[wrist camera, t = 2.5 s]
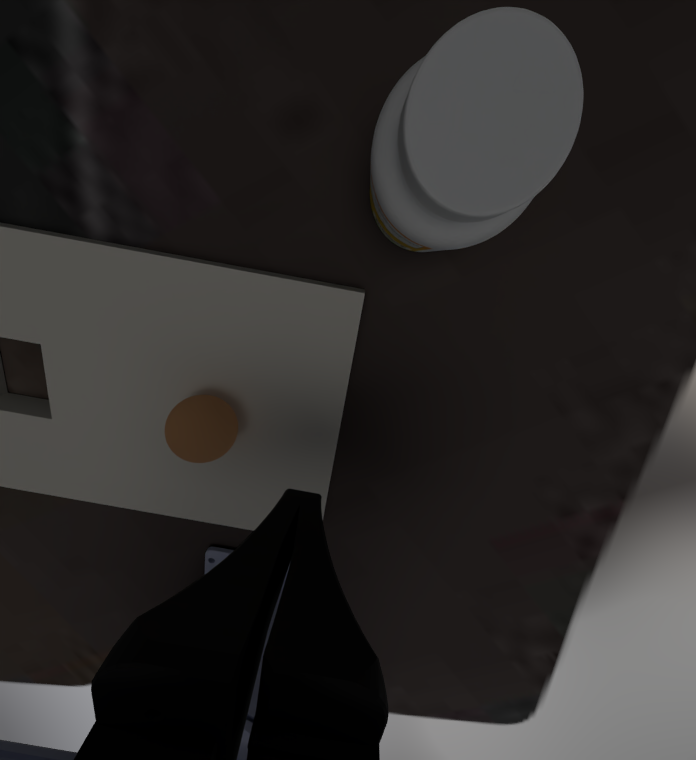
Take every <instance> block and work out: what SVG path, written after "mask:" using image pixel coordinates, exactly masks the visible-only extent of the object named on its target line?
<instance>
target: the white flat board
mask: <svg viewBox="0 0 696 760" xmlns="http://www.w3.org/2000/svg"><path fill="white" fill-rule="evenodd" d="M364 295H365V289H360V288H354V287H349V286H343V285H338V284H332V283H327V282H321V281H316V280H311V279H305V278H300V277H294V276H289V275H283V274H278V273H273V272H267V271H262V270H256V269H251V268H245V267H240V266H234V265H229V264H224V263H218V262H213V261H207V260H202V259H196V258H191V257H186V256H180V255H175V254H169V253H164V252H158V251H153V250H147V249H142V248H137V247H131V246H126V245H120V244H115V243H109V242H104V241H99V240H93V239H88V238H82V237H77V236H71V235H66V234H61V233H55V232H50V231H44V230H39V229H33V228H28V227H22V226H17V225H12V224H6V223H1V222H0V337H4V338H10V339H15V340H21V341H26V342H32V343H37V344H41V349H42V355H43V362H44V369H45V376H46V382H47V389H48V396H49V400H47V399H41V398H36V397H30V396H24V395H19V394H13V393H8V391H7V386H6V381H5V376H4V371H3V365H2V360H1V355H0V486H2V487H7V488H13V489H19V490H25V491H30V492H36V493H42V494H47V495H53V496H59V497H65V498H70V499H76V500H82V501H87V502H93V503H99V504H105V505H110V506H116V507H122V508H127V509H133V510H139V511H145V512H150V513H156V514H162V515H167V516H173V517H179V518H185V519H190V520H196V521H202V522H207V523H213V524H219V525H225V526H230V527H236V528H242V529H247V530H253V531H254V530H255V529H256V528H257V527H258V526H259V525H260V524H261V522H262V521H263V520H264V519H265V518H266V516H267V515H268V514H269V513H270V512H271V510H272V509H273V508H274V507H275V505H276V504H277V503H278V501H279V500H280V498H281V497H282V495H283V494H284V492H285V490H287V489H295V490H301V491H306V492H312V493H318V494H320V495H321V496H322V499H321V511H322V520H323V516H324V510H325V505H326V500H327V494H328V489H329V484H330V478H331V473H332V467H333V462H334V457H335V451H336V446H337V440H338V435H339V430H340V424H341V419H342V414H343V408H344V403H345V397H346V392H347V387H348V381H349V376H350V371H351V365H352V360H353V354H354V349H355V344H356V338H357V333H358V328H359V322H360V317H361V311H362V306H363V301H364ZM195 395H211V396H215V397H218V398H220V399H222V400H224V401H225V402H226V403H228V404H229V405H230V406H231V408H232V409H233V410H234V412H235V414H236V417H237V420H238V434H237V437H236V440H235V442H234V444H233V446H232V447H231V448H230V450H229V451H228V452H227V453H225V454H224V455H223V456H222V457H220V458H218V459H216V460H214V461H211V462H206V463H192V462H188V461H185V460H183V459H181V458H179V457H178V456H177V455H175V454H174V453H173V452H172V450H171V449H170V448H169V446H168V444H167V442H166V438H165V432H164V431H165V423H166V420H167V417H168V415H169V413H170V412H171V410H172V409H173V408H174V407H175V406H176V405H177V404H178V403H180V402H181V401H183V400H184V399H186V398H189V397H191V396H195Z"/></svg>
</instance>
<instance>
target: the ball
mask: <svg viewBox="0 0 696 760" xmlns="http://www.w3.org/2000/svg"><path fill="white" fill-rule="evenodd" d="M164 432H165V438H166V442H167V444H168V446H169V448H170V449H171V450H172V452H173V453H174V454H175V455H177V456H178V457H179V458H181V459H183V460H185V461H188V462H192V463H206V462H211V461H214V460H216V459H218V458H220V457H222V456H223V455H224V454H225V453H227V452H228V451H229V450H230V448H231V447H232V446H233V444H234V442H235V440H236V437H237V434H238V420H237V417H236V414H235V412H234V410H233V409H232V408H231V406H230V405H229V404H228V403H226V402H225V401H224V400H222V399H220V398H218V397H215V396H211V395H195V396H191V397H189V398H186V399H184V400H183V401H181V402H180V403H178V404H177V405H176V406H175V407H174V408H173V409H172V410H171V412H170V413H169V415H168V417H167V420H166V423H165V431H164Z"/></svg>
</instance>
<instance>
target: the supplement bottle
mask: <svg viewBox="0 0 696 760" xmlns="http://www.w3.org/2000/svg"><path fill="white" fill-rule="evenodd" d="M582 108H583V82H582V75H581V70H580V67H579V63H578V60H577V57H576V54H575V52H574V50H573V48H572V46H571V44H570V43H569V41H568V40H567V38H566V37H565V35H564V34H563V33H562V32H561V31H560V30H559V28H558V27H557V26H555V25H554V24H553V23H552V22H551V21H550V20H548V19H547V18H545V17H543V16H541V15H539V14H537V13H535V12H532V11H530V10H527V9H523V8H515V7H498V8H493V9H489V10H485V11H481V12H478V13H476V14H474V15H471V16H469V17H467V18H466V19H464V20H462V21H460V22H459V23H457V24H456V25H455V26H453V27H452V28H451V29H450V30H448V31H447V32H446V33H445V34H444V35H443V36H442V37H441V38H440V39H439V40H438V41H437V42H436V43H435V44H434V45H433V46H432V48H431V49H430V51H429V52H428V53H427V55H426V56H425V57H423V58H422V59H421V60H419V61H418V62H417V63H415V64H414V65H413V66H412V67H411V68H410V69H409V70H408V71H407V72H406V73H405V74H404V75H403V76H402V77H401V78H400V80H399V81H398V82H397V84H396V85H395V86H394V88H393V89H392V91H391V93H390V94H389V96H388V98H387V100H386V102H385V104H384V106H383V108H382V110H381V113H380V115H379V118H378V121H377V124H376V127H375V132H374V137H373V143H372V149H371V167H370V168H371V173H370V204H371V209H372V213H373V216H374V218H375V221H376V223H377V225H378V227H379V228H380V230H381V231H382V233H383V234H384V235H385V236H386V237H387V238H388V239H389V240H390V241H391V242H393V243H394V244H396V245H397V246H399V247H401V248H404V249H406V250H410V251H416V252H430V251H440V250H452V249H460V248H465V247H469V246H472V245H476V244H479V243H481V242H483V241H486V240H488V239H489V238H491V237H493V236H495V235H497V234H498V233H500V232H501V231H503V230H504V229H505V228H507V227H508V226H509V225H510V224H511V223H513V222H514V221H515V220H516V219H517V218H518V217H519V216H520V214H521V213H522V212H523V211H524V210H525V209H526V207H527V206H528V205H529V203H530V202H531V200H532V199H533V198H534V196H535V195H537V194H538V193H539V192H540V191H541V190H542V189H543V188H544V187H545V186H546V185H547V184H548V183H549V182H550V181H551V180H552V179H553V177H554V176H555V175H556V174H557V172H558V171H559V169H560V168H561V166H562V165H563V163H564V161H565V160H566V158H567V156H568V154H569V152H570V150H571V148H572V146H573V143H574V140H575V138H576V135H577V132H578V129H579V125H580V120H581V115H582Z"/></svg>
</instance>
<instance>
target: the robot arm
mask: <svg viewBox="0 0 696 760" xmlns="http://www.w3.org/2000/svg"><path fill="white" fill-rule="evenodd" d="M321 499H322V496H321V495H320V494H318V493H312V492H306V491H301V490H295V489H287V490H285V492H284V494H283V495H282V497H281V498H280V500H279V501H278V503H277V504H276V505H275V507H274V508H273V509H272V510H271V512H270V513H269V514H268V515H267V516H266V518H265V519H264V520H263V521H262V522H261V524H260V525H259V526H258V527H257V528H256V529H255V530H254V531H253V532H252V533H251V534H250V535H249V536H248V537H247V538H246V539H245V540H244V541H243V542H242V543H241V544H240V545H239V546H238V547H237V548H236V549H235V550H230V549H224V548H219V547H209V548H208V549H207V551H206V553H205V575H204V576H202V577H201V578H199V579H198V580H197V581H195V582H194V583H192V584H191V585H189V586H188V587H186V588H185V589H183V590H182V591H181V592H179V593H178V594H176V595H175V596H173V597H171V598H170V599H168V600H167V601H165V602H163V603H161V604H160V605H158V606H156V607H155V608H153V609H151V610H149V611H148V612H146V613H144V614H142V615H141V616H139V617H137V618H136V619H135V620H134V622H133V623H132V624H131V625H130V626H129V628H128V629H127V630H126V631H125V632H124V634H123V635H122V636H121V638H120V639H119V640H118V641H117V643H116V644H115V645H114V647H113V648H112V650H111V651H110V653H109V654H108V656H107V658H106V659H105V661H104V662H103V664H102V665H101V667H100V669H99V670H98V672H97V673H96V675H95V677H94V678H93V680H92V686H91V692H92V698H93V705H94V711H95V718H96V722H95V724H94V725H93V727H92V729H91V731H90V732H89V734H88V736H87V737H86V739H85V741H84V743H83V744H82V746H81V748H80V750H79V751H78V753H76V752H69V751H64V750H57V749H51V748H46V747H39V746H33V745H28V744H22V743H16V742H10V741H4V740H0V760H379V743H380V740H381V738H382V735H383V732H384V729H385V727H386V724H387V720H388V702H387V695H386V689H385V684H384V679H383V675H382V671H381V667H380V663H379V659H378V657H377V656H376V654H375V653H374V651H373V649H372V648H371V646H370V644H369V643H368V641H367V639H366V638H365V636H364V634H363V632H362V630H361V629H360V627H359V625H358V623H357V621H356V619H355V617H354V615H353V613H352V611H351V609H350V606H349V604H348V602H347V600H346V598H345V596H344V593H343V591H342V588H341V586H340V583H339V581H338V578H337V575H336V573H335V570H334V567H333V563H332V560H331V557H330V553H329V549H328V546H327V541H326V537H325V532H324V527H323V520H322V511H321ZM212 558H213V559H212Z"/></svg>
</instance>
